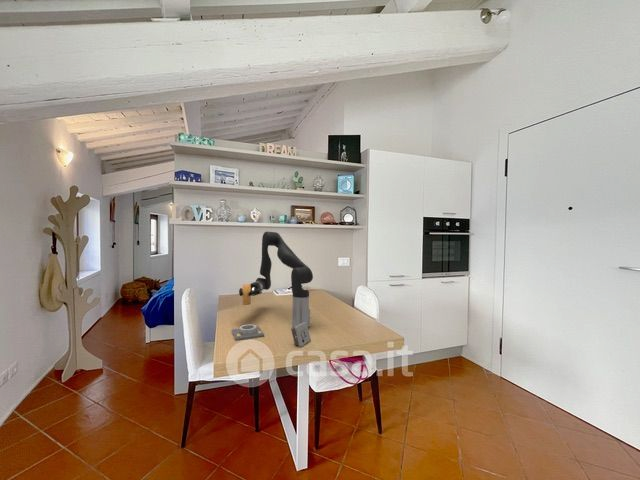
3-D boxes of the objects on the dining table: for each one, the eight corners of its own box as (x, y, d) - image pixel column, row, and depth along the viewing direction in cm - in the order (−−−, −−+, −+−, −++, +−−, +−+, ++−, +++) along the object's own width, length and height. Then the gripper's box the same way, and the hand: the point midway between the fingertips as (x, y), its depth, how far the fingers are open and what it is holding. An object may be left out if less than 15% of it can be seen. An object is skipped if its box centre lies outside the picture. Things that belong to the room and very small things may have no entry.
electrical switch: (300, 347, 124) (299, 327, 124) (291, 346, 126) (290, 326, 127) (311, 341, 132) (309, 321, 133) (302, 340, 135) (300, 321, 135)
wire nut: (249, 302, 158) (249, 283, 158) (251, 304, 154) (251, 285, 154) (242, 303, 156) (242, 284, 156) (243, 305, 152) (243, 285, 152)
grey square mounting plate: (258, 327, 150) (258, 321, 150) (264, 336, 137) (264, 329, 137) (231, 331, 144) (231, 324, 144) (235, 340, 131) (235, 333, 131)
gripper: (243, 281, 170) (232, 287, 153) (266, 282, 168) (257, 287, 151) (243, 293, 170) (232, 300, 153) (266, 294, 168) (257, 301, 151)
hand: (244, 294), depth 152 cm, fingers closed on wire nut, 4 cm apart
